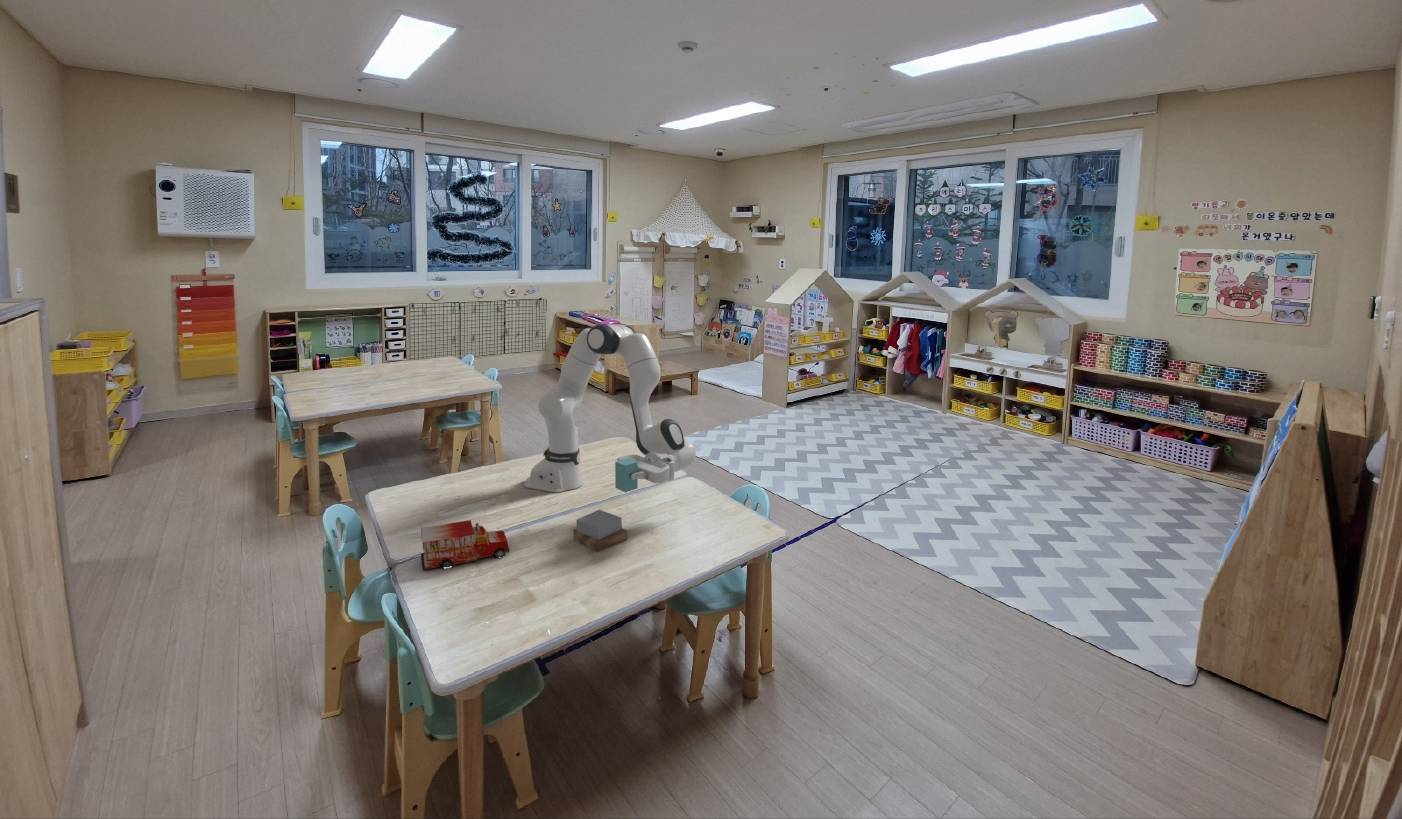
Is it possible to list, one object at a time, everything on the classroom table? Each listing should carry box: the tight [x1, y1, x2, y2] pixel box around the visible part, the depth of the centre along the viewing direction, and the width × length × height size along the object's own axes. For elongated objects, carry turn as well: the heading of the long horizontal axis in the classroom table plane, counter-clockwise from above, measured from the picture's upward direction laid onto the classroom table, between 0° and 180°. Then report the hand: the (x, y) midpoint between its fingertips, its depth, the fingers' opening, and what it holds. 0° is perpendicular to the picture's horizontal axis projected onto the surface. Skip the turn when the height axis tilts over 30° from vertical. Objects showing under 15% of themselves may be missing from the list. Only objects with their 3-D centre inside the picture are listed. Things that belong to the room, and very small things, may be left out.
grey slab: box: [575, 509, 623, 540], centre depth 211 cm, size 10×10×4 cm
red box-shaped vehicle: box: [420, 519, 510, 570], centre depth 199 cm, size 11×25×10 cm, turn 114°
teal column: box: [614, 458, 639, 493], centre depth 213 cm, size 5×5×9 cm
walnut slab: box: [573, 527, 628, 553], centre depth 212 cm, size 12×12×4 cm
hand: (624, 474), depth 212 cm, fingers closed on teal column, 5 cm apart
